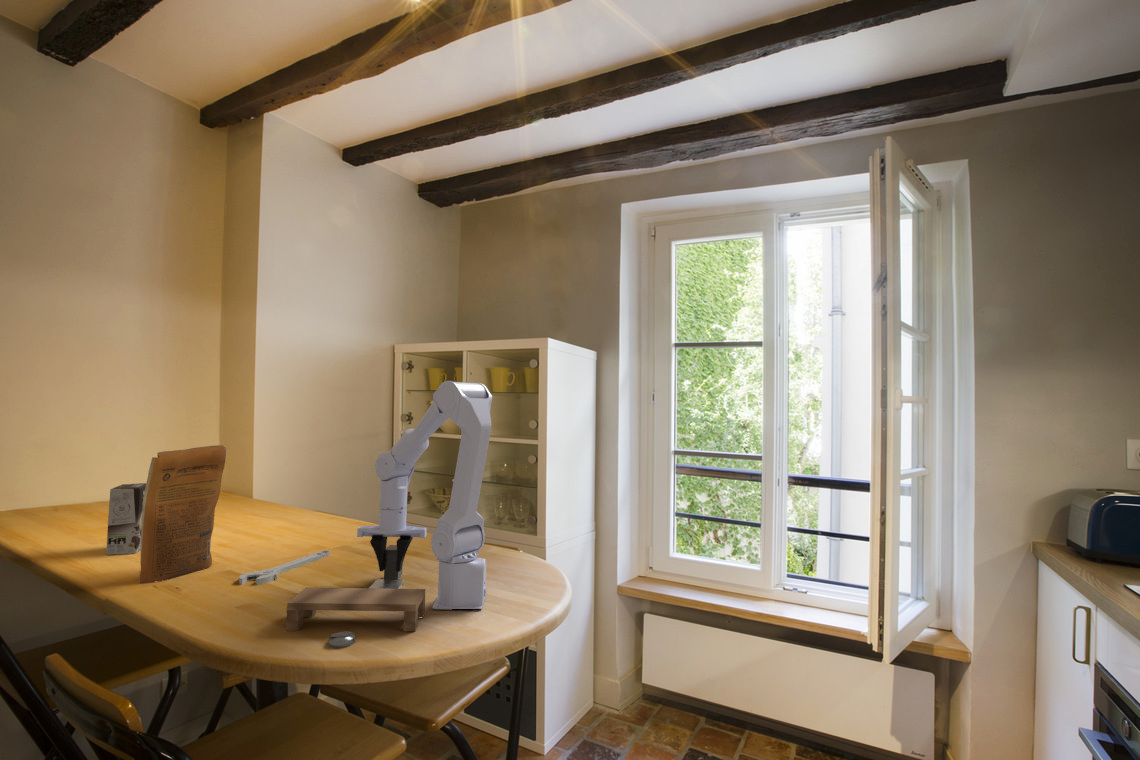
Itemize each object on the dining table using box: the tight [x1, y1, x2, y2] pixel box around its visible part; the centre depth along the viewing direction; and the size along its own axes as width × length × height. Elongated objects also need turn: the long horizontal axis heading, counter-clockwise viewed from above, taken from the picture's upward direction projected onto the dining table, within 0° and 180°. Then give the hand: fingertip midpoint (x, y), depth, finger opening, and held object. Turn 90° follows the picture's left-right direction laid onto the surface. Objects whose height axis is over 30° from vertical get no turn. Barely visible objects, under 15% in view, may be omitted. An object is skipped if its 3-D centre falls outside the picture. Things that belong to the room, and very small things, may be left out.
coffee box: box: [105, 482, 147, 556], centre depth 143 cm, size 9×6×16 cm
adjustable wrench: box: [238, 550, 330, 586], centre depth 132 cm, size 25×6×2 cm, turn 159°
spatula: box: [368, 544, 405, 589], centre depth 120 cm, size 6×18×7 cm, turn 3°
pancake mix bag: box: [137, 444, 227, 584], centre depth 126 cm, size 7×19×28 cm, turn 159°
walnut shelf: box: [285, 586, 426, 633], centre depth 102 cm, size 22×8×5 cm, turn 93°
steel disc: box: [328, 631, 356, 649], centre depth 94 cm, size 4×4×1 cm
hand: (390, 570), depth 124 cm, fingers closed on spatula, 3 cm apart
